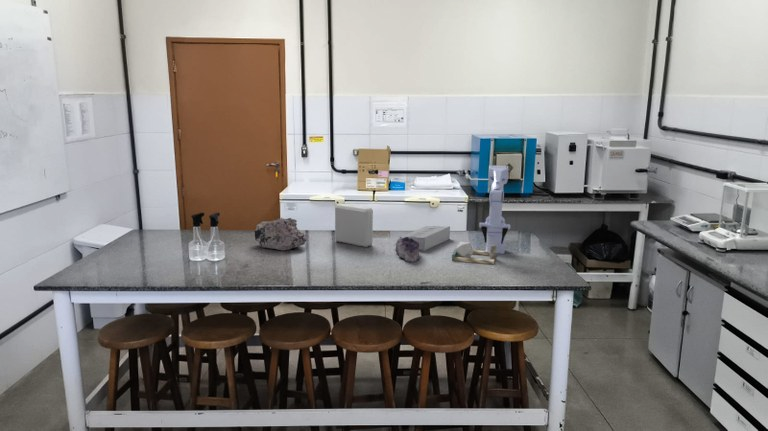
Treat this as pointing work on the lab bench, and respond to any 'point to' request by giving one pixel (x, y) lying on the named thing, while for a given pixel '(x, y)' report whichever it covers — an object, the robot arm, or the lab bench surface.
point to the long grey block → (429, 236)
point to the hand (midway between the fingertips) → (493, 242)
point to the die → (464, 250)
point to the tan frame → (474, 260)
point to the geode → (408, 249)
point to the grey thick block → (353, 225)
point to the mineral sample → (279, 234)
